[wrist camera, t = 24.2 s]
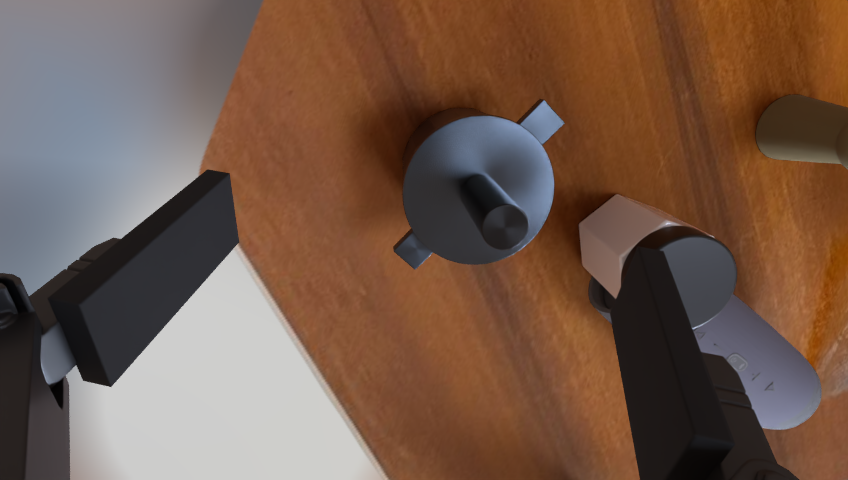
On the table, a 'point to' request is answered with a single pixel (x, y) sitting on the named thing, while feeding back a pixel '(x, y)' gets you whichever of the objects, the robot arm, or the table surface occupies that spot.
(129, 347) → the robot arm
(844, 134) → the brown game pawn
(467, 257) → the lid
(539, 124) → the pot
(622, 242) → the jar
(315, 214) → the table surface
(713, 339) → the bluetooth speaker
